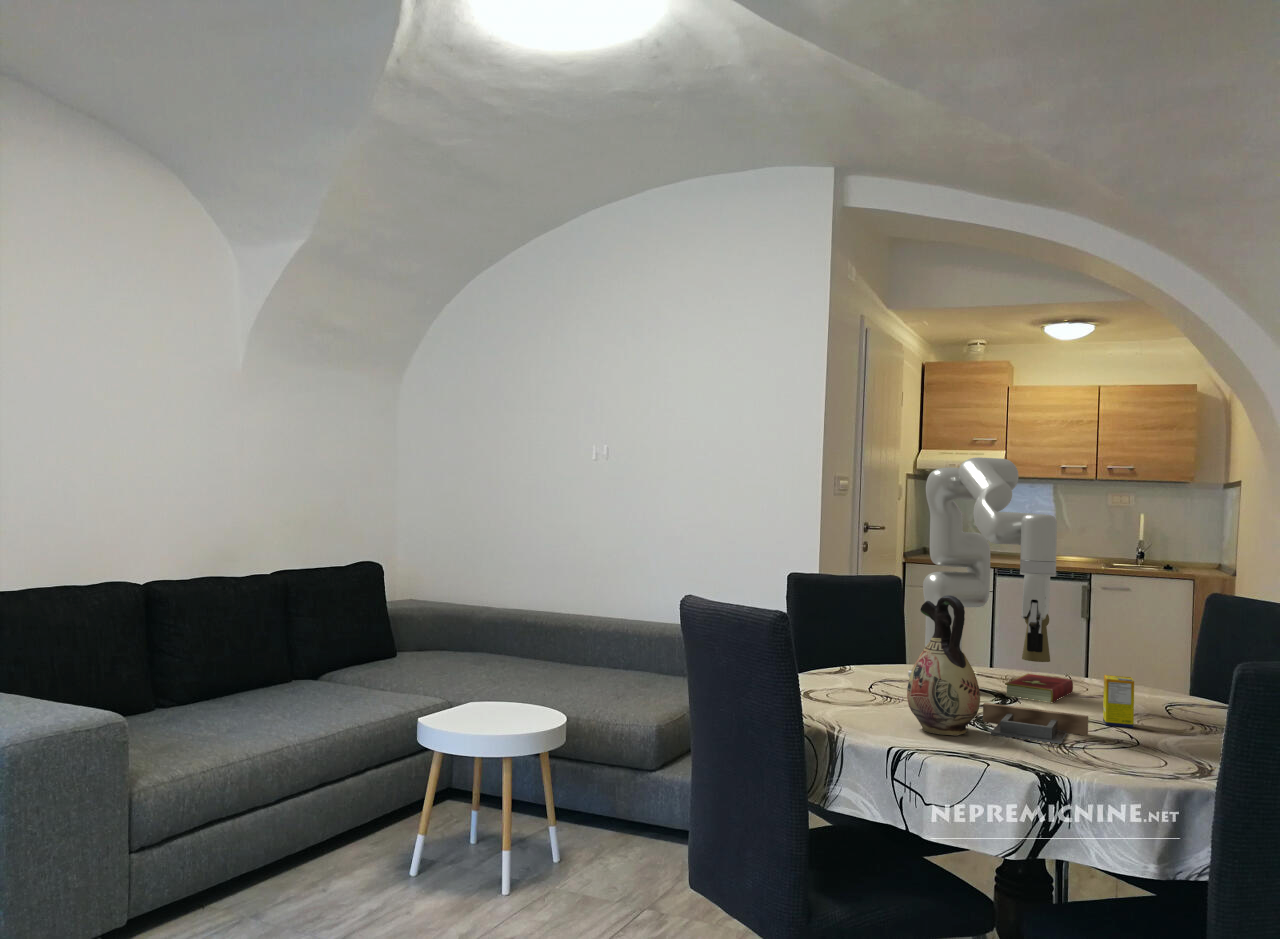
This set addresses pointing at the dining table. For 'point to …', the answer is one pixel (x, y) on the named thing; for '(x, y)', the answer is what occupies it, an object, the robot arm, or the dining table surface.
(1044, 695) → the hardcover book
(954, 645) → the ceramic jug
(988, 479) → the robot arm
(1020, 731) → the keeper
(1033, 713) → the door edge rail
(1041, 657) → the cork
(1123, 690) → the supplement box
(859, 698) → the dining table surface
